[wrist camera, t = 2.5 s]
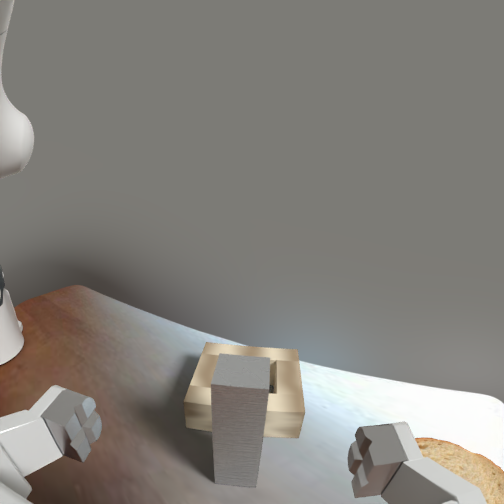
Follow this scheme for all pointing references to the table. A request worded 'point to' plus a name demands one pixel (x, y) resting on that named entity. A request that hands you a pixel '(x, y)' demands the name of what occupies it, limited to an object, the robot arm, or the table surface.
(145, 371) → the table surface
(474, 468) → the bread slice
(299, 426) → the well block
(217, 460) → the steel post
